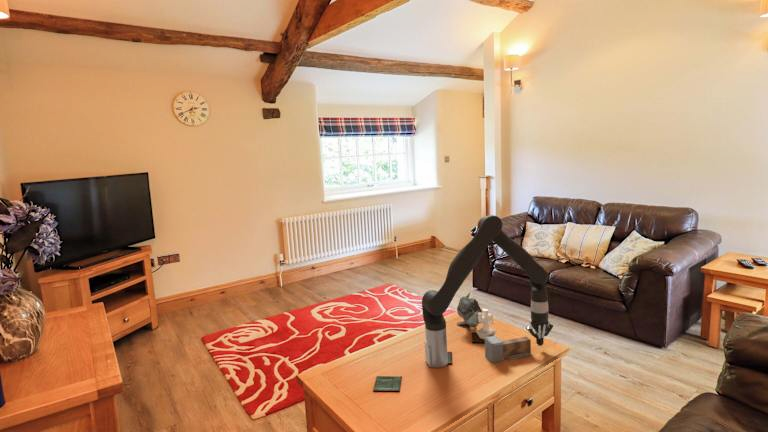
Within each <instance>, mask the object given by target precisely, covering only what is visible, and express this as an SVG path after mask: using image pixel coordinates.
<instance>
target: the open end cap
mask: <svg viewBox="0 0 768 432" xmlns="http://www.w3.org/2000/svg"><path fill="white" fill-rule="evenodd" d="M530 356H531V354H530V353H529V352H527V353H521V354H516V355H511V356H509V358H508V360H510V361H511V360H516V359H520V358H521V359H522V358H527V357H530Z"/></svg>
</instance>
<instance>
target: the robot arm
mask: <svg viewBox="0 0 768 432" xmlns="http://www.w3.org/2000/svg"><path fill="white" fill-rule="evenodd" d="M477 229H478V230H477V232H476V234H475V235H474V236H473V238H472V239H471V240H470V241H469V242H468V243H467V244H465V246H464V247H462V248H461V249H460V251H458V253H457V254H455V257H454V258H453V259H452V261H451V262H450V264H449V267H448V270H447V273H446V277H445V280H444V282H443V283H442V286H441V287H440V289H439V290H438V291H437V290H435V289H431V290H427V291H426V292H424V293H423V296H422V298H421V308H422V310H421V311H422V318H423V322H424V326H425V328H424V329H425V341H424V352H425V362H426V364H427V366H428V367H429V368H439V369H440V368H445V367H446V366H448V363H449V361H448V360H449V357H448V356H449V355H448V339H447V337H448V336H447V322H446V319H445V316H444V315H443V314H444V313H445V312H446V310H448V308H449V306H450V304H451V303H452V301H453V300H454V297H455V295H456V294H457V292H458V291H459V290H460V287H462V285H463V283H464V282H465V280H466V279H467V278H468V277H469V275H470V273H471V272H472V271H473V269H474V268H475V266H476V265H477V263H478V262H479V260H480V259H481V257H482V256H483V254H484V253H485V251H486V249H487V248H488V247H489V246H490V245H491V244H492V242H493V243H495V244H496V245H497V246H498V247H499V248H500V249H501V250H503V252H505V254H507V256H509V257H510V259H511V260H512V261H513V262H514V263H516V265H518V266H519V268H521V269H522V270H523V271H524V272H525V274H526V275H527V276H529V283H530V287H531V288H530V289H531V291H530V319H531V320H530V321H531V322H530V325H529V326H526V330H527V331H528V332H529V334H530V335H531V336H532V337H533V338H535V339H536V341H535V343H536V345H537V346H539V347H541V346H544V338H545V337H548V335H549V334H550V332H551V331H552V329H553V327H554V325H553V324H552V323H550V321H549V302H548V296H549V295H548V293H549V292H548V289H547V285H546V283H548V281H549V280H550V277H549V273H548V271H547V270H546V269H545V268H544V267H543V266H542V265H540V264H539V263H538V262H537V261H536V260H535V259H534V257H533V256H532V255H531V254H530V253H529V252H528V251H527V250H526V249H525V248H524V247H523V246H522V245H520V244H519V243H517V242H516V241H515V240H514V239H512V238H511V237H509V236H508V235H507V234H506V233H505V232H504V231H503V230H502V229H503V222H502V219H501V217H499V216H498V215H493V214H492V215H485V216H484V215H483V216H482V217H481V218H479V220H478V222H477Z"/></svg>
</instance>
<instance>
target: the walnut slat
mask: <svg viewBox="0 0 768 432" xmlns="http://www.w3.org/2000/svg"><path fill="white" fill-rule="evenodd" d="M501 341H502V342H503V360H505V359H509V356H511V355H516V354H521V353H527V352H529V353H530V355H531V354H532V351H531V350H532V349H531V348H532V347H531V345H532V343H531V339H530V338H529V337H528V336H523V337H516V338H511V339H506V340H504V339H503V340H501Z"/></svg>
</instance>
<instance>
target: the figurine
mask: <svg viewBox="0 0 768 432" xmlns="http://www.w3.org/2000/svg"><path fill="white" fill-rule="evenodd" d="M481 310H482V313H478V322H479V324H480V325H481V324H482V327H481V328H479V329H477V331H476V332H475V333H476V334H477V335H478V338H479V339H482V340H484V341H485V337H491V336H495V335H496V332H497V330H495V329H492V328H490V327H489V325H493V324H494V316H493V314H492V313H489V309H487V308H484V307H483V308H482V309H481Z"/></svg>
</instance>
